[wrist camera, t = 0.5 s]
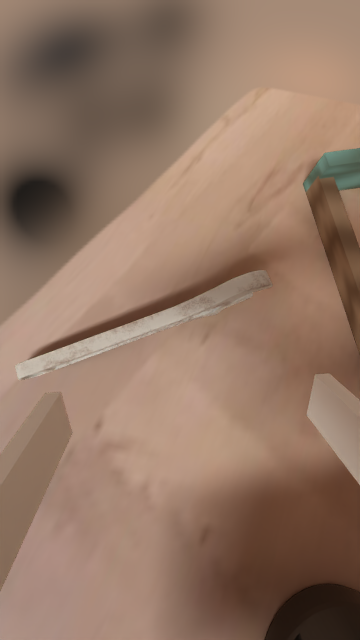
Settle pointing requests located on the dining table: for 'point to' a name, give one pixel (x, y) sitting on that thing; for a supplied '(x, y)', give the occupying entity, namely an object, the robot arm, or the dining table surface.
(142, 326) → the wrench
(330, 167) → the bay frame
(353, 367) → the dining table surface
